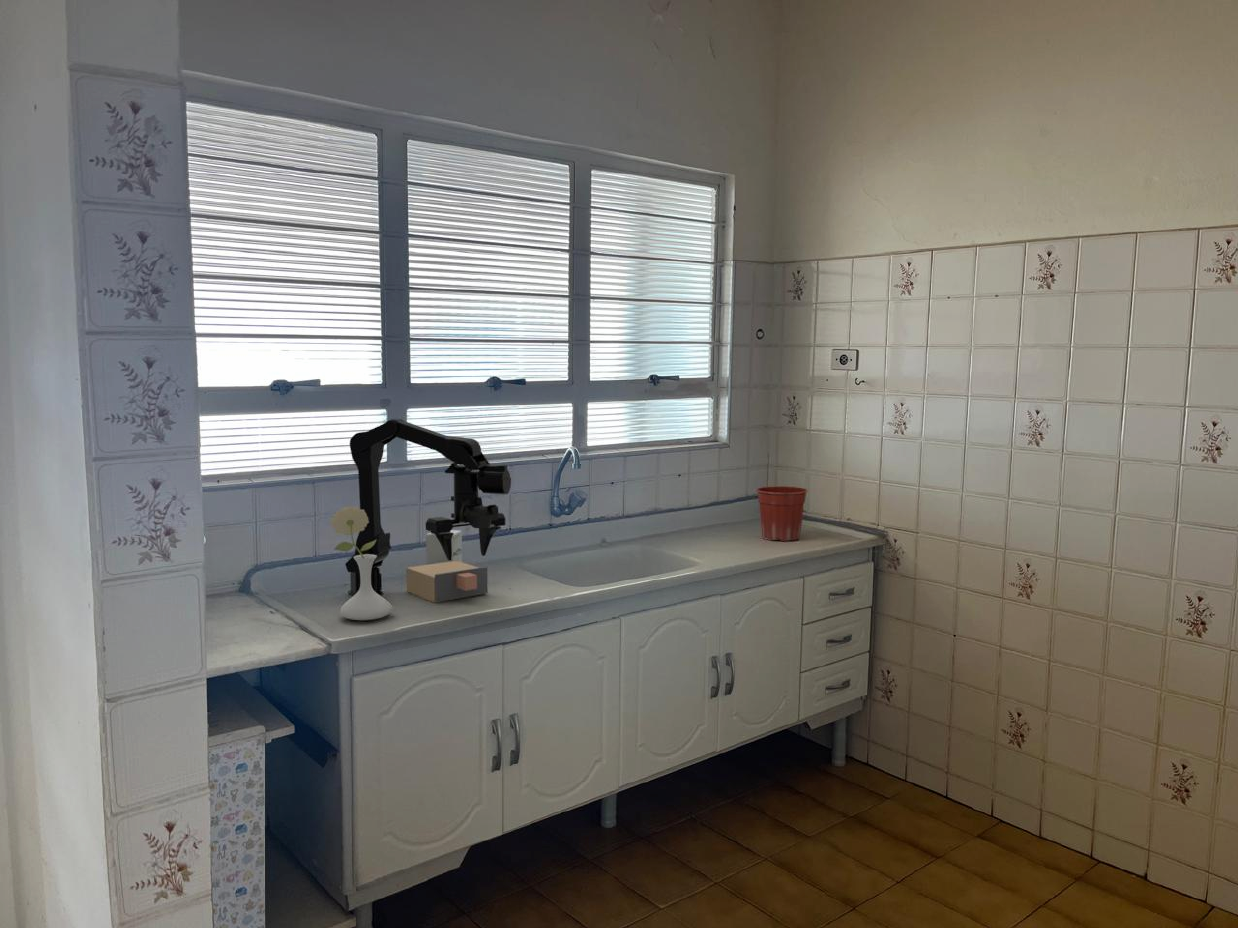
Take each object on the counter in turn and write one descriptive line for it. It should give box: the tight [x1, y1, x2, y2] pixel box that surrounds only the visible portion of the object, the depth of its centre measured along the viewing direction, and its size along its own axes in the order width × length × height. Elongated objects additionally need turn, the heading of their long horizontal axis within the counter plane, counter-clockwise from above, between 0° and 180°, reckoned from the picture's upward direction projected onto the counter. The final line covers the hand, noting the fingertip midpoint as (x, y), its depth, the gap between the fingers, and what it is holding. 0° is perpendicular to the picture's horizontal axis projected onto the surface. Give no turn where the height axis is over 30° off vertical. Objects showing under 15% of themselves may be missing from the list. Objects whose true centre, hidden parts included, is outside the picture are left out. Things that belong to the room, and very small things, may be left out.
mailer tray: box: [435, 566, 489, 603], centre depth 235 cm, size 14×19×6 cm
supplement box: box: [425, 529, 463, 565], centre depth 251 cm, size 7×7×13 cm
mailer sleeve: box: [405, 561, 487, 604], centre depth 237 cm, size 14×14×6 cm
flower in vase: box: [330, 505, 394, 621], centre depth 212 cm, size 13×11×25 cm
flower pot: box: [755, 485, 809, 542], centre depth 312 cm, size 16×16×16 cm
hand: (466, 557), depth 228 cm, fingers open, 9 cm apart
